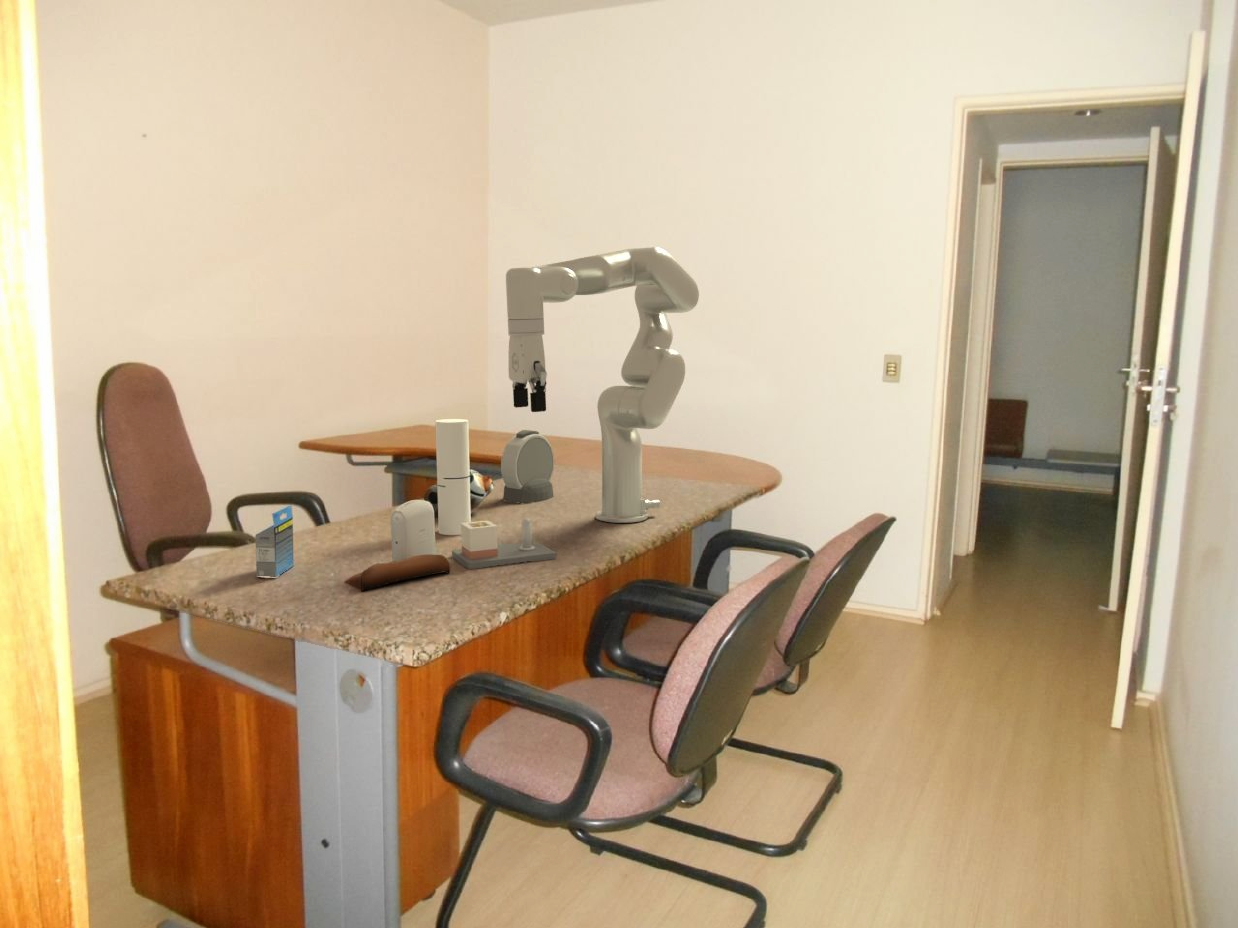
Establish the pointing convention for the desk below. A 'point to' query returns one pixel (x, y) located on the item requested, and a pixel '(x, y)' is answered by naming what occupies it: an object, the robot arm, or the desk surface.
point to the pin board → (510, 551)
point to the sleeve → (479, 540)
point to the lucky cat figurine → (478, 491)
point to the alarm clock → (527, 468)
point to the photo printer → (412, 530)
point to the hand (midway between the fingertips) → (529, 409)
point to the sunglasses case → (399, 571)
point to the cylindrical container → (453, 475)
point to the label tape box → (275, 545)
